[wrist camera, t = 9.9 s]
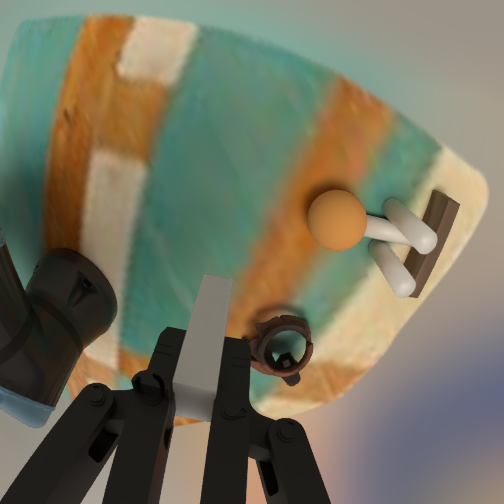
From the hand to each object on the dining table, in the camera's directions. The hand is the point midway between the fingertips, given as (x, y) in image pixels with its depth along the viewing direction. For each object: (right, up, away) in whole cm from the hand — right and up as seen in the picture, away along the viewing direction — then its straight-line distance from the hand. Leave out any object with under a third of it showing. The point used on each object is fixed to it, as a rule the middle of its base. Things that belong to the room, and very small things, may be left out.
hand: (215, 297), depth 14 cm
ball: (+10, +5, +12) cm, 17 cm away
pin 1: (+18, +7, +14) cm, 24 cm away
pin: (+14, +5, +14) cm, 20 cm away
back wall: (+23, +4, +16) cm, 28 cm away
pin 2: (+17, +3, +17) cm, 24 cm away
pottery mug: (+6, -10, +24) cm, 27 cm away
